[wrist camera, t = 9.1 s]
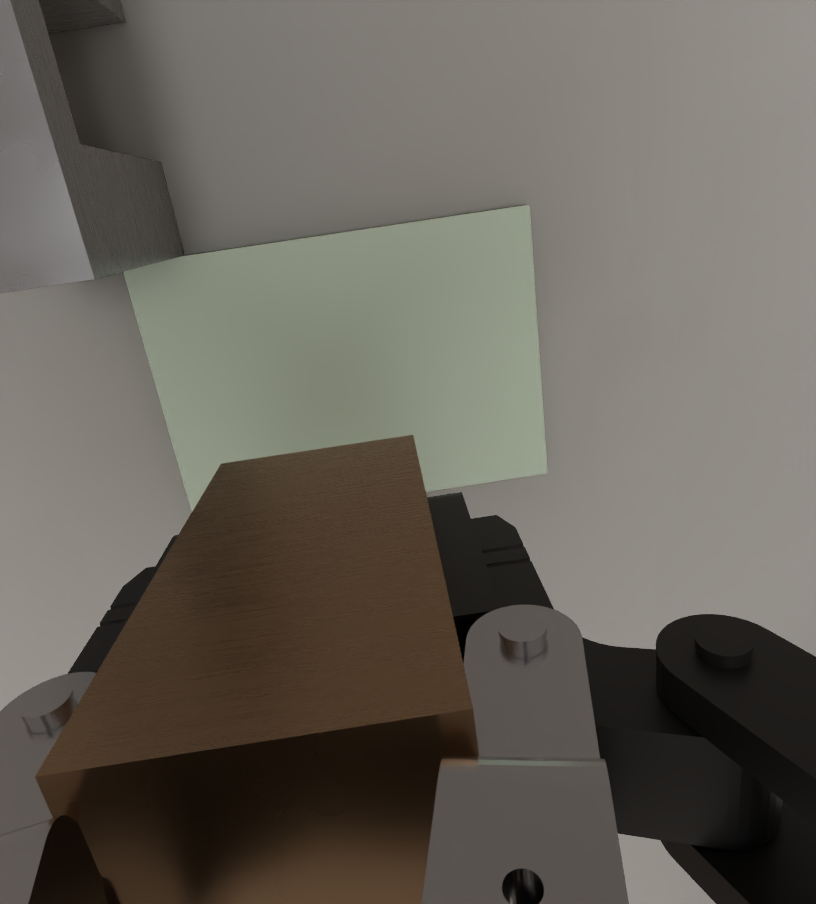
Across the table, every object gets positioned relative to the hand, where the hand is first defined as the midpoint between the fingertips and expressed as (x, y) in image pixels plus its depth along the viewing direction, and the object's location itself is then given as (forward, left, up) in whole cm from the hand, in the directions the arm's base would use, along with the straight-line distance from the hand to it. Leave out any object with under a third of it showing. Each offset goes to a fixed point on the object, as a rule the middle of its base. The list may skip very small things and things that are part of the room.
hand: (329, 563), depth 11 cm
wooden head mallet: (0, +7, -1) cm, 7 cm away
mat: (0, 0, -14) cm, 14 cm away
